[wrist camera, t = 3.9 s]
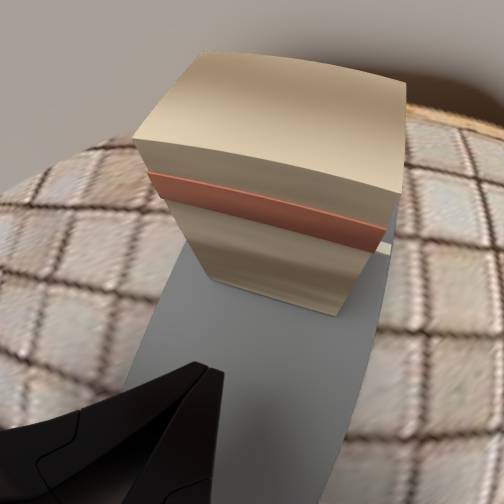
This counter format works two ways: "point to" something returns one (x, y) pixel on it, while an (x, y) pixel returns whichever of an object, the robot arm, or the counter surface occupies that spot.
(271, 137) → the beige striped box
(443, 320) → the counter surface
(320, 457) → the plate
